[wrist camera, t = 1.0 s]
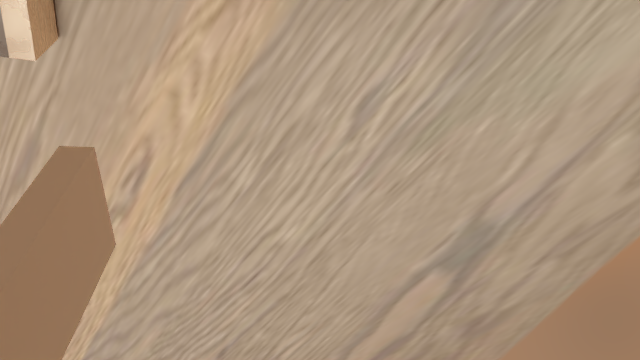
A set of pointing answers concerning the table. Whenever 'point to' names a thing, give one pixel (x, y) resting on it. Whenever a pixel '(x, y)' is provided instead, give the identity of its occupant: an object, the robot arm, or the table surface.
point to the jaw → (26, 28)
